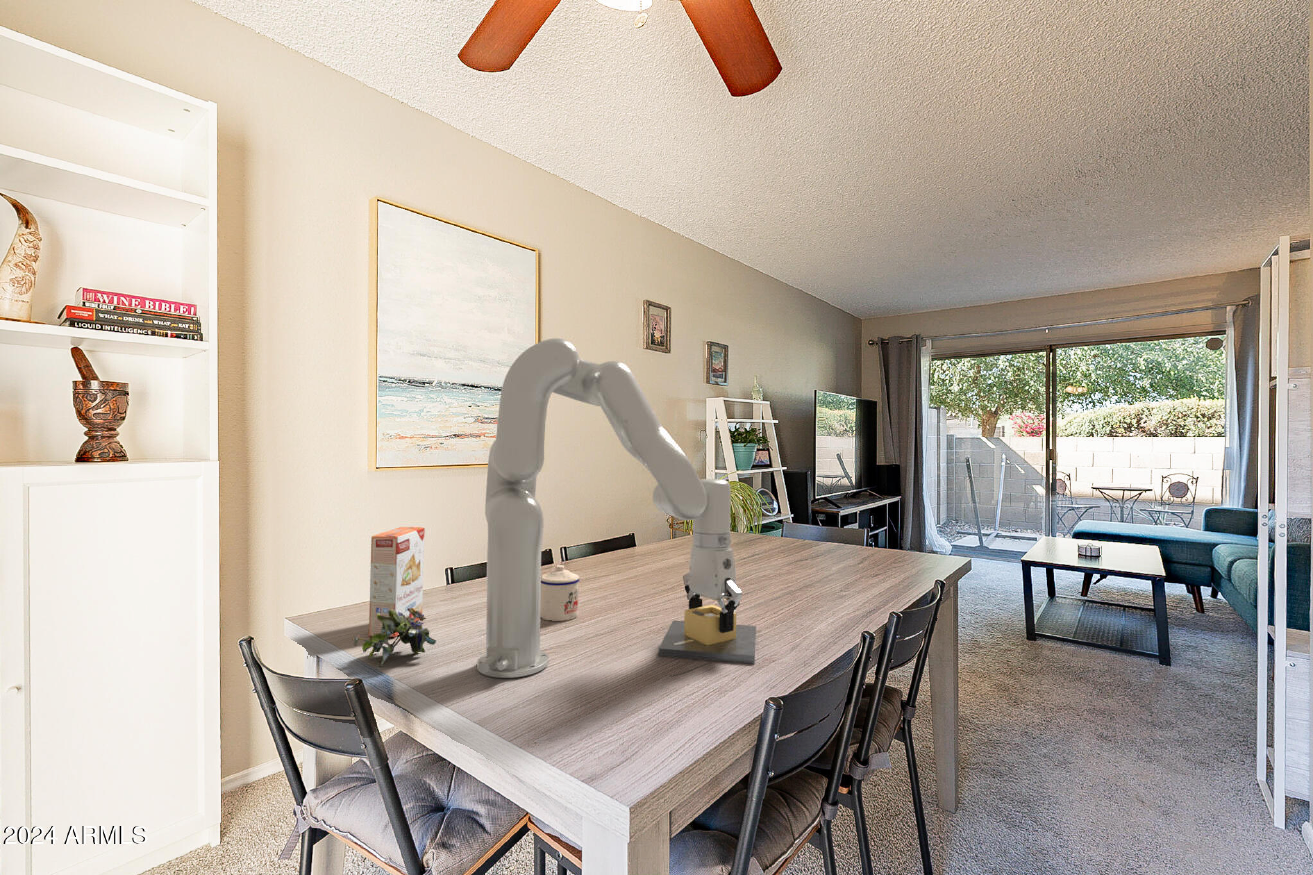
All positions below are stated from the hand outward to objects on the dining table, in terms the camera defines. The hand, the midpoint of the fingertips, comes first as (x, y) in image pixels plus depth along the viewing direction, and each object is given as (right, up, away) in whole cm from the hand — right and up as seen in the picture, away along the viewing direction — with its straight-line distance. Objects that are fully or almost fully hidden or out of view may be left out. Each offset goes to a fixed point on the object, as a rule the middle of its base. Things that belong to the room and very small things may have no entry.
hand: (710, 625), depth 121 cm
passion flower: (-59, -3, -11) cm, 60 cm away
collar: (0, -2, 0) cm, 2 cm away
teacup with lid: (-33, -4, +19) cm, 38 cm away
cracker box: (-67, -3, +8) cm, 67 cm away
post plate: (0, -4, 0) cm, 4 cm away
